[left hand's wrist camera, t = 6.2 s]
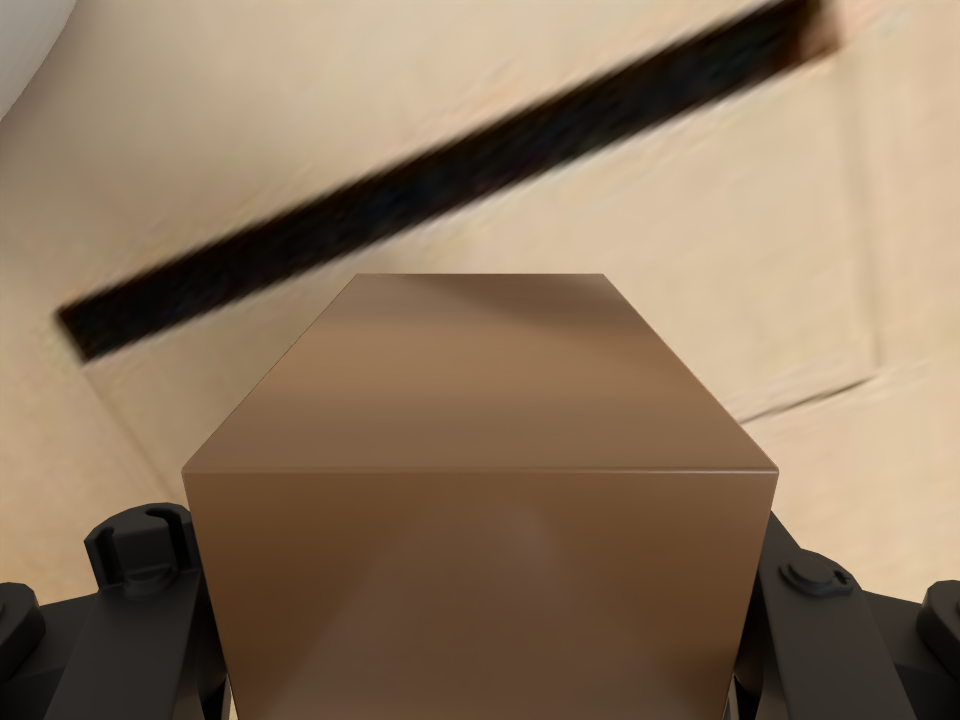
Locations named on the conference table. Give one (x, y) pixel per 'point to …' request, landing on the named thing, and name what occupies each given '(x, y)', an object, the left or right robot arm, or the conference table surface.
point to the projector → (27, 42)
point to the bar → (480, 512)
